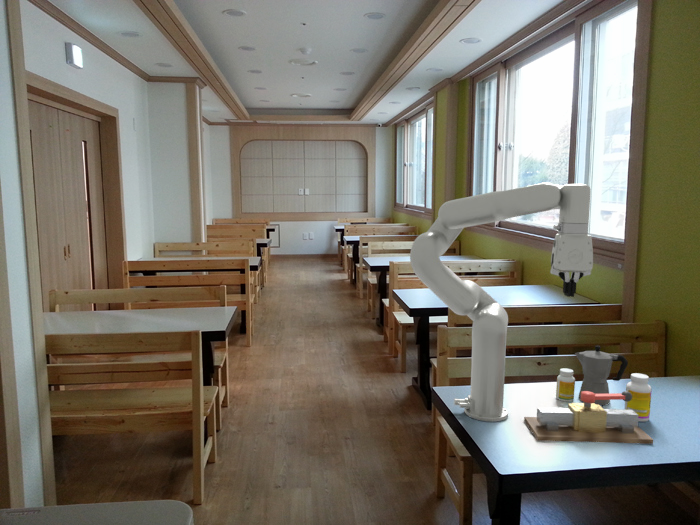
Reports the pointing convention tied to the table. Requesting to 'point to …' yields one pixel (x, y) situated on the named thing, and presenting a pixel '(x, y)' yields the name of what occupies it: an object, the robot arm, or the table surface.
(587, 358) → the coffeepot
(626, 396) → the lever
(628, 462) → the table surface
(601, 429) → the valve
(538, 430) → the plank
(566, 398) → the supplement bottle
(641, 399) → the supplement bottle
